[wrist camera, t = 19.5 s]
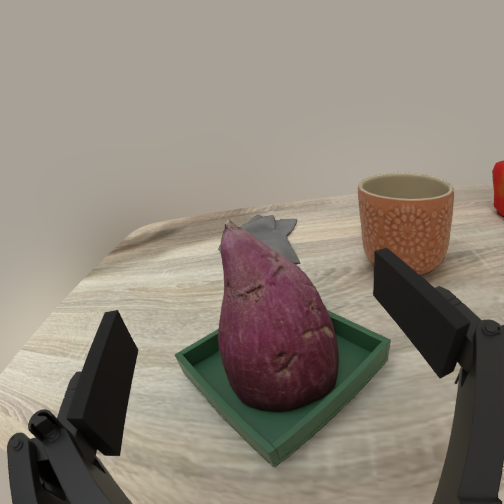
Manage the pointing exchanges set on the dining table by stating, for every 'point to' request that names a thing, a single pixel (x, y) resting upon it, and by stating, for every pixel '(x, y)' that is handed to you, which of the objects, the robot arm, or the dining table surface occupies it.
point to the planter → (407, 217)
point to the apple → (499, 187)
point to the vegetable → (272, 327)
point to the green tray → (295, 421)
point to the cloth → (272, 234)
